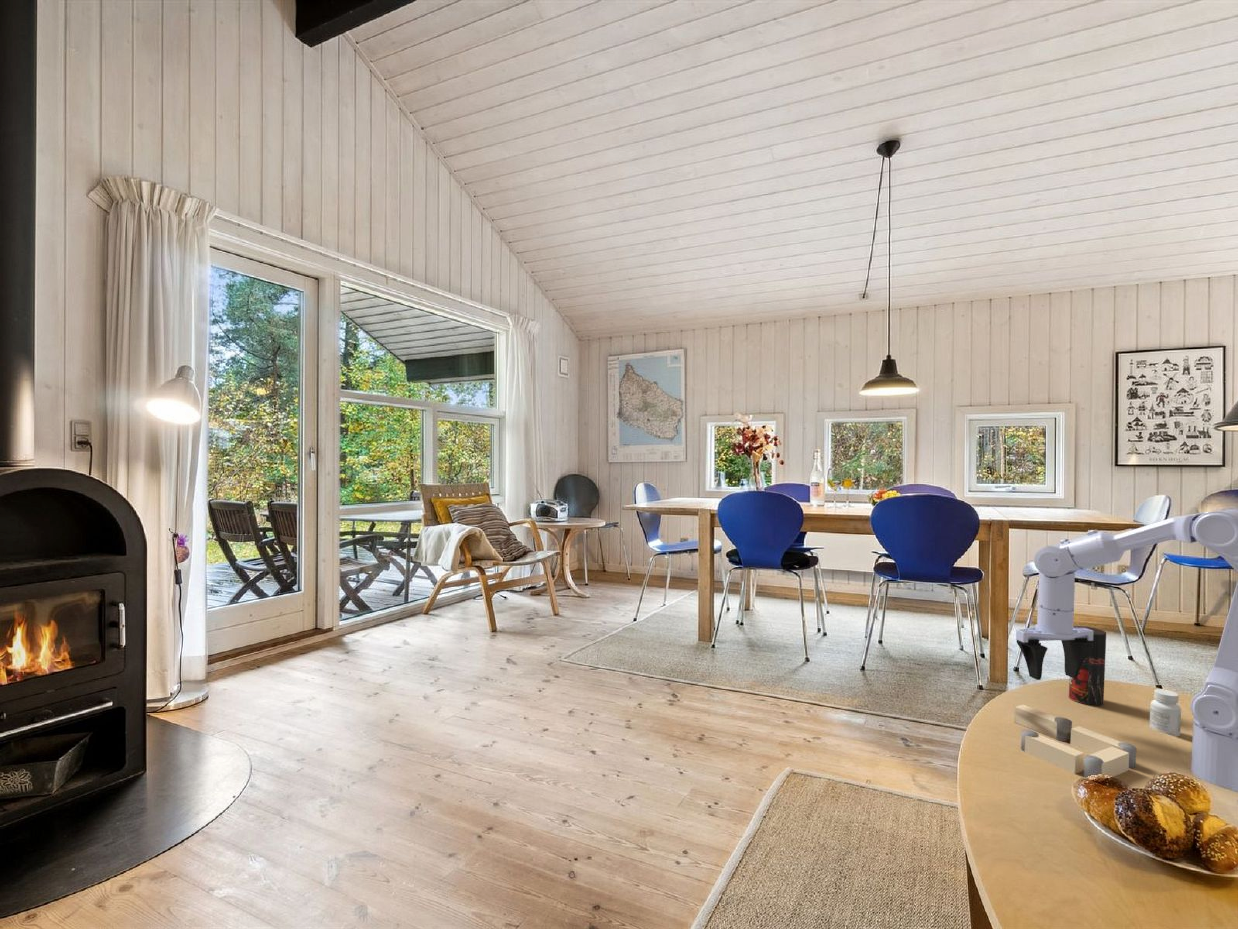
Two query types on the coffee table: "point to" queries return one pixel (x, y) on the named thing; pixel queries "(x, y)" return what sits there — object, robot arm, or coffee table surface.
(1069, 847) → the coffee table surface
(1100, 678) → the deodorant
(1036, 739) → the hinged beam frame
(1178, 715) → the pill bottle
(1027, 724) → the beige long rectangular block
